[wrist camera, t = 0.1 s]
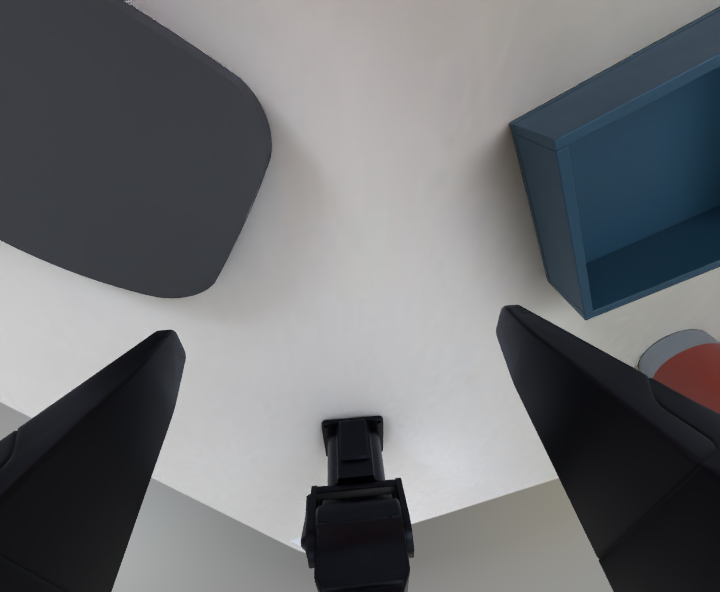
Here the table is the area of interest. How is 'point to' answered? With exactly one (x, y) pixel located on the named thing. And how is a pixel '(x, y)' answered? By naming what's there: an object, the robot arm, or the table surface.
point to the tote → (629, 173)
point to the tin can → (687, 366)
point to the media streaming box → (122, 147)
